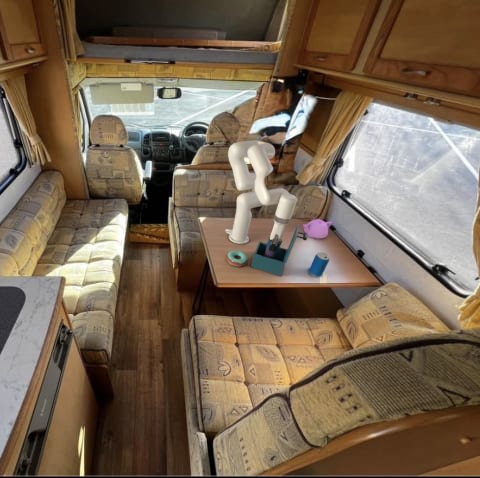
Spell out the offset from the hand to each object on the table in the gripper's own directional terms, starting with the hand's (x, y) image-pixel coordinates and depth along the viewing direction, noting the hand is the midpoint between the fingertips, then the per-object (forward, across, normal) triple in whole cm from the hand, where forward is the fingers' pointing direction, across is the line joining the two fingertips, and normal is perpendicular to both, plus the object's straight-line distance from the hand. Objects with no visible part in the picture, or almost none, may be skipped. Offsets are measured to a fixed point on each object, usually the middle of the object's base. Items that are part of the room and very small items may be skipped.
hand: (272, 247), depth 139 cm
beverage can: (+12, -5, +24) cm, 27 cm away
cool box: (+12, 0, 0) cm, 12 cm away
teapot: (+12, -47, +21) cm, 53 cm away
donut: (+12, +6, -16) cm, 21 cm away
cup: (+10, 0, 0) cm, 10 cm away
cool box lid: (-6, 0, +8) cm, 9 cm away
